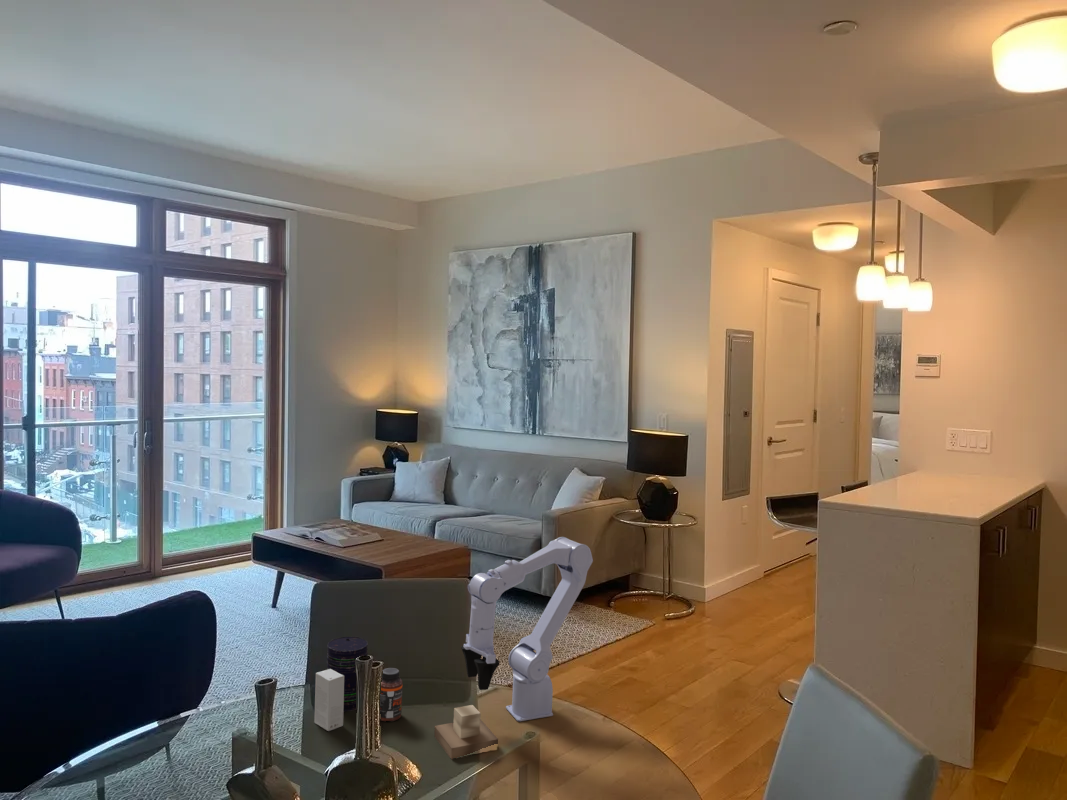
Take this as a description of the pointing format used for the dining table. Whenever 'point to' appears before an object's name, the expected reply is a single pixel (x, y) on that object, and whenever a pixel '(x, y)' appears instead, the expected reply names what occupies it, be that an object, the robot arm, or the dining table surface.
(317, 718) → the skincare box
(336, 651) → the storage jar
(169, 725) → the dining table surface
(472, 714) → the maple block
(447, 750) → the walnut block
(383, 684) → the supplement bottle
